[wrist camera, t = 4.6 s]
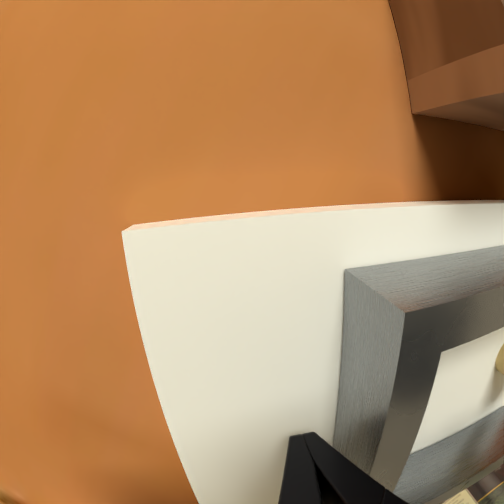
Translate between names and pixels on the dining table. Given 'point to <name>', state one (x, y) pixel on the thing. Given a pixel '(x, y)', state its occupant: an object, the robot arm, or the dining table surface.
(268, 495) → the base board
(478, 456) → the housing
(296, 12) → the dining table surface
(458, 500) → the coffee can
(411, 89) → the hollow wooden box
